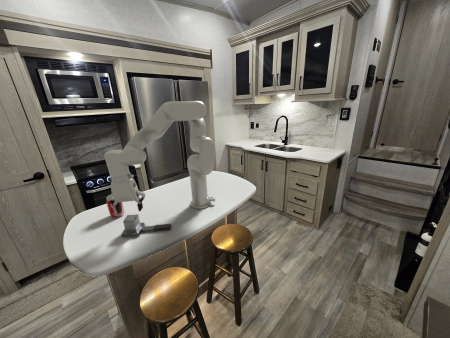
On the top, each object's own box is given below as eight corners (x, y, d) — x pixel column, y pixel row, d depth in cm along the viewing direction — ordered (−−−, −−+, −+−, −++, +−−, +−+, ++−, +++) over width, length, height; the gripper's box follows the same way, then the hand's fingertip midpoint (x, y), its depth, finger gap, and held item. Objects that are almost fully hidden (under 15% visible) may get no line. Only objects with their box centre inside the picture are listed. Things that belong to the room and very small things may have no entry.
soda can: (127, 212, 104) (123, 194, 100) (117, 219, 98) (111, 200, 94) (118, 211, 106) (113, 193, 102) (107, 217, 100) (102, 198, 96)
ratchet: (172, 223, 93) (171, 215, 92) (169, 233, 86) (167, 225, 84) (129, 227, 92) (126, 218, 90) (122, 237, 84) (119, 229, 82)
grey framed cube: (140, 224, 90) (138, 214, 88) (136, 231, 85) (134, 220, 83) (130, 225, 90) (127, 215, 88) (125, 231, 85) (123, 221, 83)
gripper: (144, 173, 83) (151, 204, 89) (105, 176, 82) (115, 208, 88) (138, 179, 76) (146, 213, 82) (95, 183, 75) (107, 217, 81)
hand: (130, 210), depth 85 cm, fingers open, 9 cm apart
